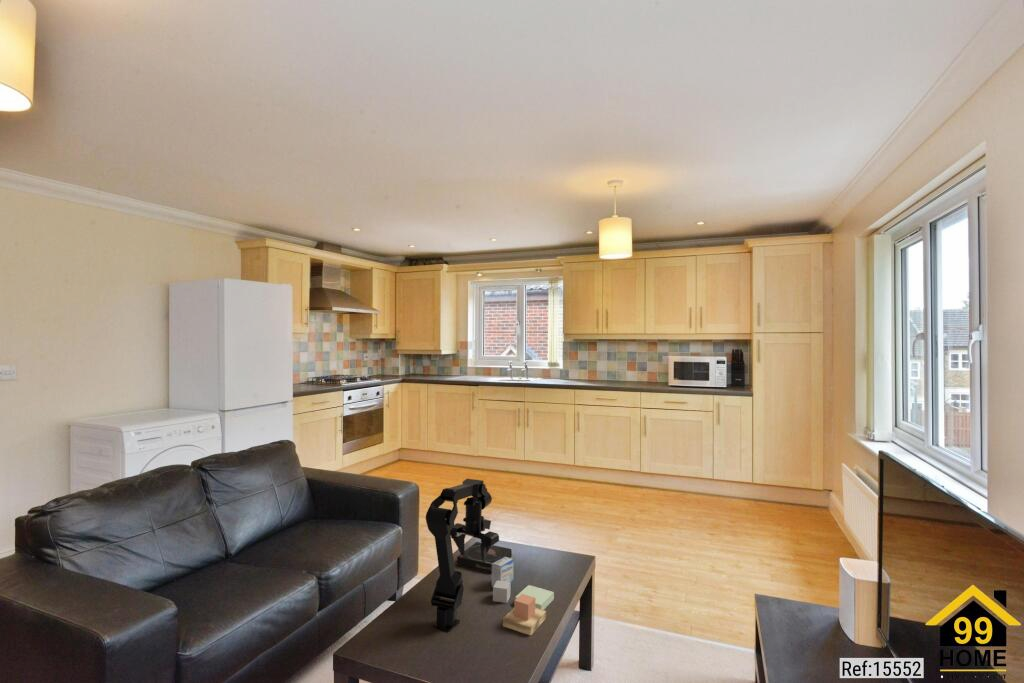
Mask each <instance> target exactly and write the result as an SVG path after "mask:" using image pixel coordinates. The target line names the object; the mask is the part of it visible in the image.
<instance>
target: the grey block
mask: <svg viewBox="0 0 1024 683" xmlns="http://www.w3.org/2000/svg"><path fill="white" fill-rule="evenodd" d="M511 584H512V583H511V582H505V581H498V580H497V581H496V583H495V585H494V586H492V601H493V602H497V603H504V604H507V603H508V602H509V599H510V597H511V588H512V587H511V586H512V585H511Z"/></svg>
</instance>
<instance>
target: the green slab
mask: <svg viewBox="0 0 1024 683" xmlns="http://www.w3.org/2000/svg"><path fill="white" fill-rule="evenodd" d="M521 594H525V595H528V596H531V597H534V598H535V608H538V609H541V610H546V608H547V607H548V606H549V605H550V604H551V602H553V601H554V598H555V591H551V590H547V589H544V588H540V587H538V586H534V585H530V584H528V585H527V586H525V588H524V589H522V591H520V592H519V593H518V594H517V595H516V596H515V598H514V601H515V600H516V599H517V598H518V597H519V596H520V595H521Z"/></svg>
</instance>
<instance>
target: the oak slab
mask: <svg viewBox="0 0 1024 683" xmlns="http://www.w3.org/2000/svg"><path fill="white" fill-rule="evenodd" d="M546 619H547V611H546V609H544V610H541V609H538V608H535V614H534V615H533V616H532V617H531V618H530V619H529V620H525V619H522V618H519V617H516V616H514V607H513V608H512V609H511V610H510V611H508V613H507V614H505V616H504V617H502V627H503V628H507V629H510V630H513V631H516V632H519V633H522V634H524V635H528V636H532V635H533V634H534V633H535V632H536V630H538V628H539V627H540V626H541V625H542V623H543V622H545V620H546Z"/></svg>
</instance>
